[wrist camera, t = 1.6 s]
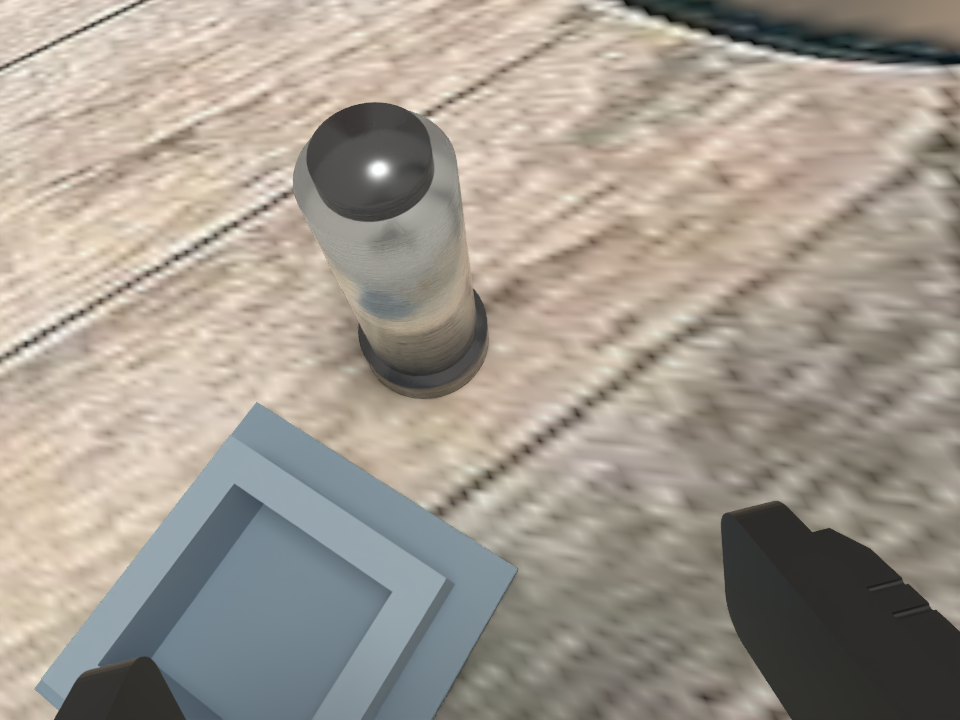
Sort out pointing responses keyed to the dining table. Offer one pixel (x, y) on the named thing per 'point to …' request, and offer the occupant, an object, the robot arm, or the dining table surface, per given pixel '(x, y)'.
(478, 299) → the thermos
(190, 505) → the dock
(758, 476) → the dining table surface
